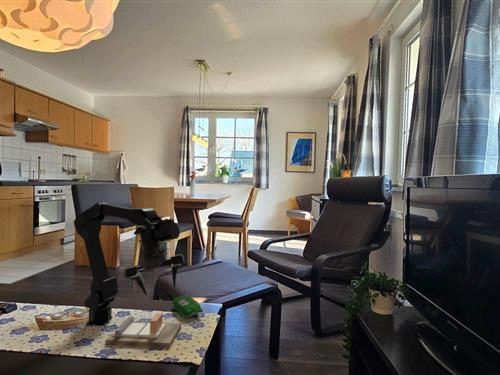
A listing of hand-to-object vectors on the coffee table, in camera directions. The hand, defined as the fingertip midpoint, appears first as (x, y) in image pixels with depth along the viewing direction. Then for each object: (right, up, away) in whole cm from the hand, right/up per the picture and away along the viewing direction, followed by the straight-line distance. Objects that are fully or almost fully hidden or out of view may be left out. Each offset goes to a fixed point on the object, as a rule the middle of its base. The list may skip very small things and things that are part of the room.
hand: (160, 291), depth 99 cm
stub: (-2, -13, -1) cm, 13 cm away
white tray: (-10, -13, -1) cm, 16 cm away
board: (-5, -14, -1) cm, 15 cm away
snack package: (+5, -15, +18) cm, 24 cm away
